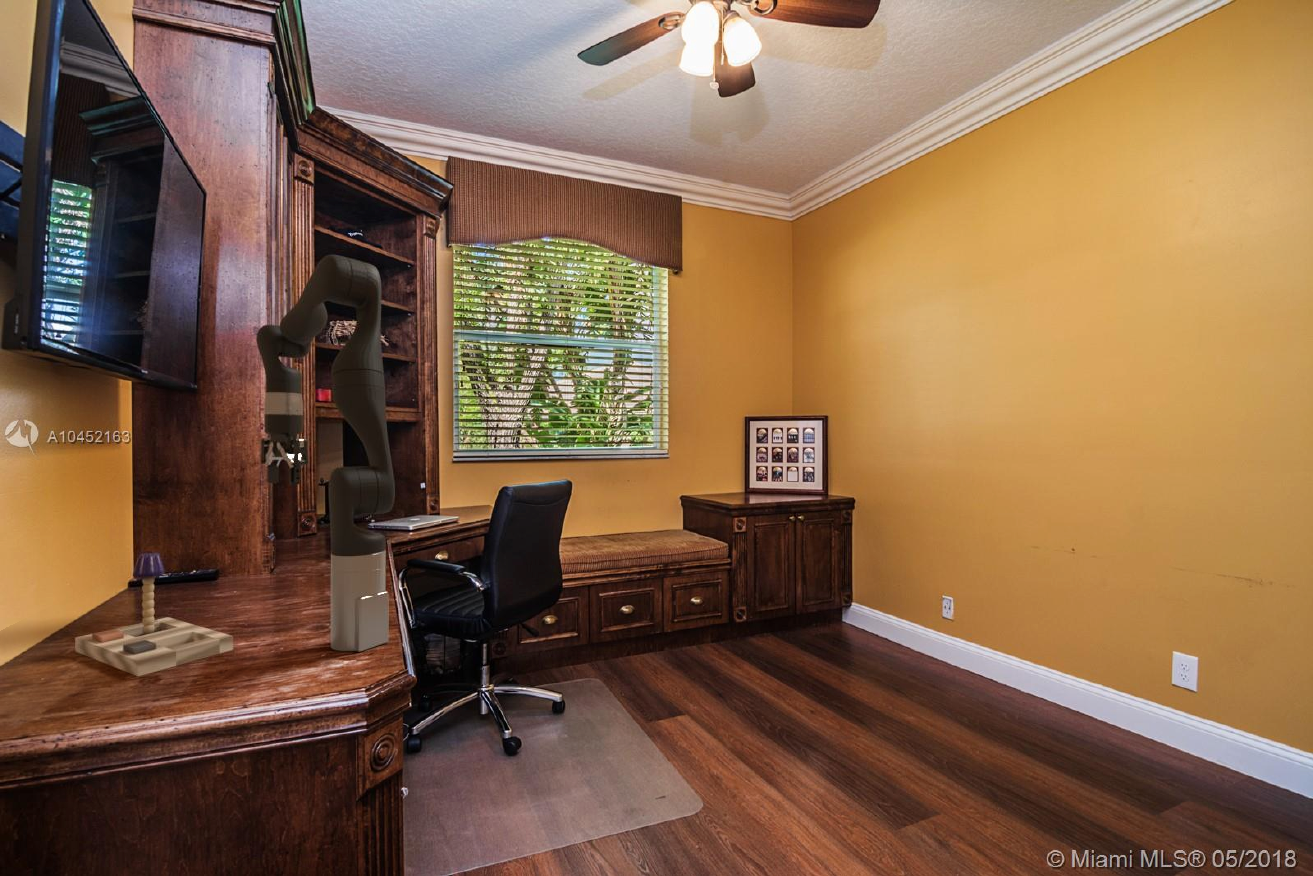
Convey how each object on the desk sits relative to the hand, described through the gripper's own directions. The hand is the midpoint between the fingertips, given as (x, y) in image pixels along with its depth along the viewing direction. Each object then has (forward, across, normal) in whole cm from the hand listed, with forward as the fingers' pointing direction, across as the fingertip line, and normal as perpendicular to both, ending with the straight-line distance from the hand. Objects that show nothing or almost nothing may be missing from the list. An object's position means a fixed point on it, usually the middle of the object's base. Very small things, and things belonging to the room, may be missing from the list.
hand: (283, 483), depth 137 cm
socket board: (+28, -9, +28) cm, 41 cm away
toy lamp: (+28, -3, +26) cm, 39 cm away
